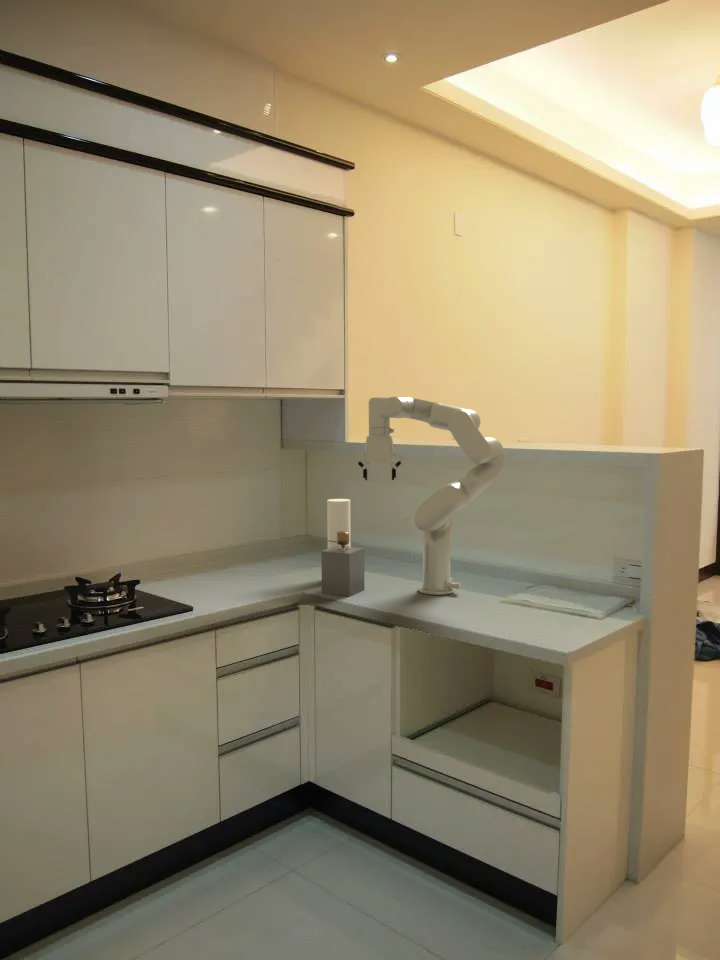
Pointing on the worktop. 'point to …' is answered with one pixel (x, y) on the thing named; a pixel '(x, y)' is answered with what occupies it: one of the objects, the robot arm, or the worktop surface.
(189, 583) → the worktop surface
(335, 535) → the container
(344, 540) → the plunger
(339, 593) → the grey box
